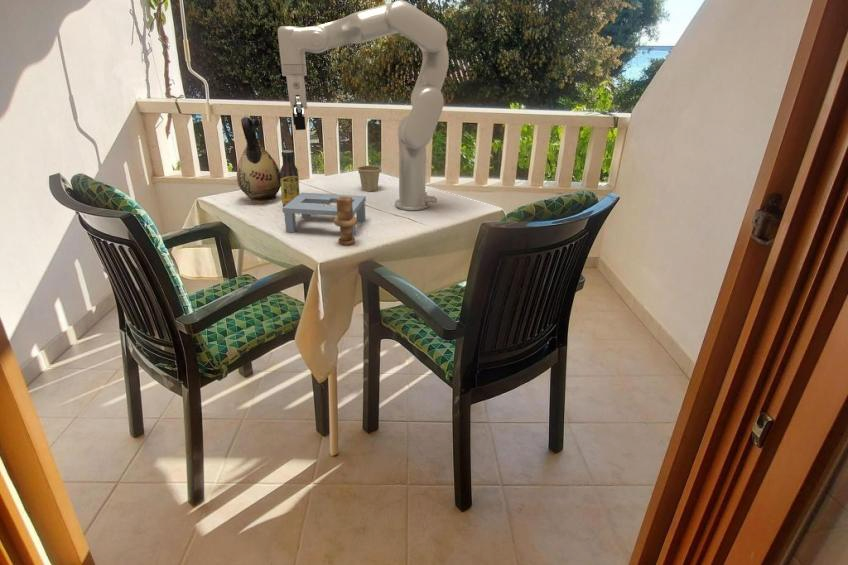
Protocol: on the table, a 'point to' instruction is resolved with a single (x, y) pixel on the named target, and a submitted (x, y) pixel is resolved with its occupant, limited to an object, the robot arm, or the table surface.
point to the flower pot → (369, 177)
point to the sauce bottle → (289, 178)
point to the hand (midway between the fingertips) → (299, 127)
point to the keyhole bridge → (319, 208)
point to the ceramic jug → (257, 167)
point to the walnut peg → (345, 220)
